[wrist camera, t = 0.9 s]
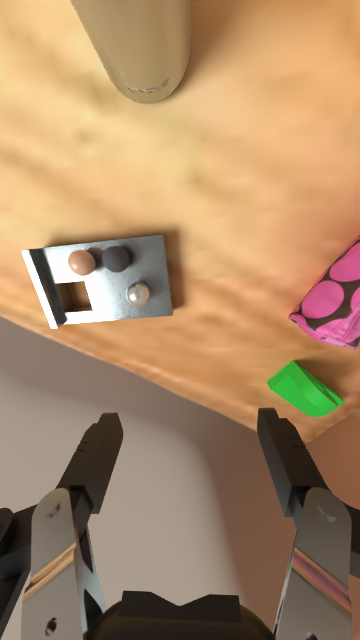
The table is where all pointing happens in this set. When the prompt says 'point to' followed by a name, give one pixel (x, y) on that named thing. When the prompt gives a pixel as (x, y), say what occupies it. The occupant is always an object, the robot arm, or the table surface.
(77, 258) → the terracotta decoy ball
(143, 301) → the steel ball
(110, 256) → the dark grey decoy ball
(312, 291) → the pencil case
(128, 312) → the grey ball holder tray
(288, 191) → the table surface
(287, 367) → the mechanical part
